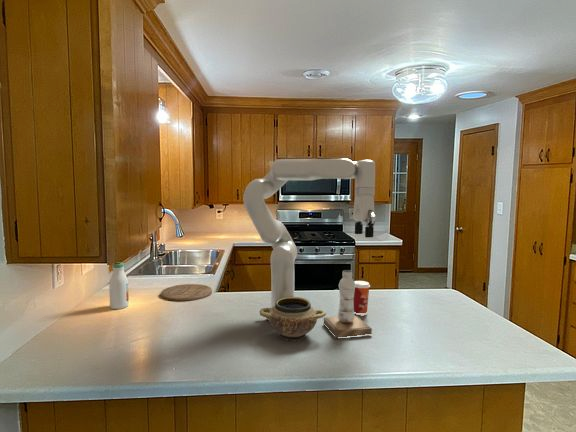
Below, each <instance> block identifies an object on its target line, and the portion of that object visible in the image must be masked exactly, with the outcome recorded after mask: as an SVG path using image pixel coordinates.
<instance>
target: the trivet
mask: <svg viewBox="0 0 576 432" xmlns="http://www.w3.org/2000/svg"><path fill="white" fill-rule="evenodd" d="M212 291H213V289H212V287H210V286H208V285H206V284H198V283H195V284H194V283H186V284H185V283H183V284H178V285H173V286H169V287H166V288H164V289H162V290H161V293H160V297H161V299H163V300H166V301H171V302H192V301H198V300H202V299H205V298H208V297H209V296H211V295H212V293H213V292H212Z"/></svg>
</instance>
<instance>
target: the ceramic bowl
mask: <svg viewBox="0 0 576 432" xmlns="http://www.w3.org/2000/svg"><path fill="white" fill-rule="evenodd" d="M311 305H312V304H311V302H310V300H309V299H307V298H304V297H299V296H294V297H285V298H281V299H278V300H277V301H276V303H275V306H274V307H272V308H270V307H263V308H261V309H260V310H259V316H260V315H262V316H261V317H263V318H265V319H267V318H268V319H269V321H268V322H269V324H270V326H271V327H272V329H273V330H274V331H275V332H276V333H278V334H280V336H279V337H280V338H281V337H282V338H283V340H285V339H287V340H286V341H288V340H298V341H300V340H299V339H301V338H303V337H304V336H305V337H306V335H307V334H308V333H310V332H311V331H312V330H313V329H314V328H315V326H316V324H317V321H318V319H321V318H325V316H326V315H327V312H326V311H325V310H323V309H316V308H313V306H311ZM265 312H268V313H265ZM305 337H304V338H305ZM282 338H281V339H282ZM304 338H303V339H304ZM301 340H302V339H301Z"/></svg>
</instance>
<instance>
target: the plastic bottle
mask: <svg viewBox="0 0 576 432" xmlns="http://www.w3.org/2000/svg"><path fill="white" fill-rule="evenodd" d="M341 274H342V277H341V279H340V280H339V283H338V290H339V306H338V307H339V308H338V311H337V317H338V319H339V321H340V322H342V323H351V322H353V320H354V317H355V314H354V305H353V300H354V292H355V282H354V281H355V280H354V278H352V277H353V270H350V269H349V270H348V269H346V270H345V269H344V270H342V273H341Z"/></svg>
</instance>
